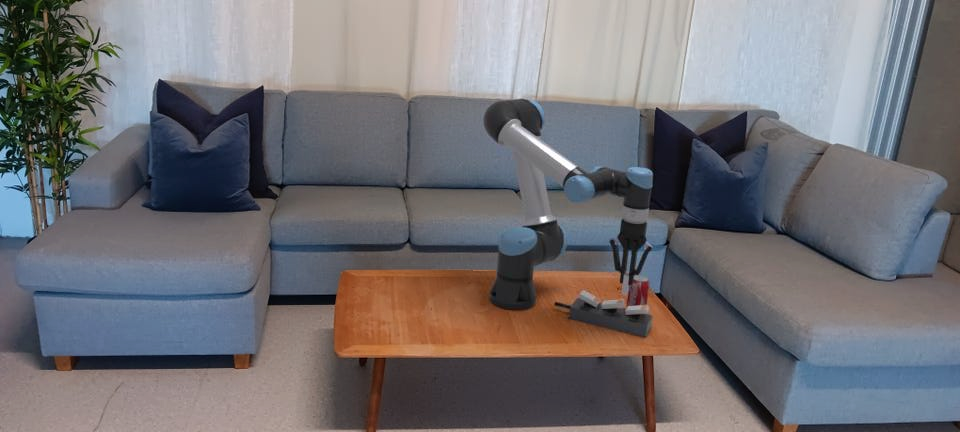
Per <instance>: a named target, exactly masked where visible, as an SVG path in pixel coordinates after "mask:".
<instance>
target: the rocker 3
mask: <svg viewBox="0 0 960 432" xmlns="http://www.w3.org/2000/svg"><path fill="white" fill-rule="evenodd" d="M625 309H626V310H625V312H626V315H630V314H648V312H649V311H650V305H649V304H647V305H639V306H628V307H627V308H626V307H625Z"/></svg>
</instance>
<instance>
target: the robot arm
mask: <svg viewBox="0 0 960 432" xmlns="http://www.w3.org/2000/svg"><path fill="white" fill-rule="evenodd" d="M545 122H546V117H545V112H544V110H543V108H542V106H541V105H540V104H539V103H538V102H537V101H535V100H534V99H530V98H517V99H509V100H508V99H507V100H498V101H495V102H493V103H492V104H490V105H489V106H488V107H487V108H486V109H485V112H484V114H483V127H484V130H485V133H486V134H487V135H488V137H490V138H491V139H492V140H493V141H494V142H496V143H497V144H499V145H500V146H501V147H508V148H509V149H510V150H512V156H513V159H514V165H515V171H516V175H517V176H516V177H517V181H518V186H519V192H520V196H521V203H522V207H523V208H522V209H523V212H524V218H525V220H524V221H523V223H522V224H521V226H518V227H517V226H514V227H509V228H507V229H505V230H504V231H503V232H501V234H500V237H499V242H498V251H497V252H498V253H497V265H496V266H497V267H496V276H495V279H494V281H493V284H492V285H491V288H490V290H489V295H488V296H489V299H488V300H489V301H490V302H491V304H492V305H494V306H497V307H498V308H502V309H505V310H513V311H521V310H522V311H524V310H528V309H531V308H533V307H535V305H536V303H537V292H536V288H535V283H534V271H535V270H534V269H535V267H536V266H539V265H541V264H544V263H547V262H552V261H554V260H556V259H557V258H559V257H561V256H562V255H563V254H564V252H565V251H566V249H567V247H568V235H567V231H566V230H565V228H563V227H562V226H561V225H560V224H559V223H558V220H557V217H556V216H555V215H553V214H552V211H551V207H550V200H549V196H548V190H547V185H546V179H545V176H547V177H549V178H550V179H551V180H552V181H554V182H555V183H557V184H558V185H560V186H561V187H562V188H563V189H564V190H563V191H564V194H565V195H566V198H567V199H568V200H569V201H571V202H573V203H582V202H583V203H585V202H588V201H590V200H593V199H597V198H600V197H603V196H604V197H605V196H607V195H608V196H609V195H611V196H614V197H618V198H623V203H622V204H623V205H622V211H621V218H622V219H621V220H620V228H619V233H618V234H617V236H616V237H611V239H610V240H609V243H610V246H611V249H612V257H613V263H614V264H613V265H614V270H615V271H616V272H619V274H620V277H619V284H621V285H622V286H621V289H622V290H621V295H622V296H625V297H626V296H627V297H628V292H629V285H632V284H633V280H634V276H635V275H640V274H641V272H642V271H643V267H644V266H645V265H644V264H645V263H646V259H647V258H648V256H649V253H650V252H651V251H652V250H653V248H654V245H653V244H650V243H649V242H648V241H647V238H646V236H647V235H646V234H647V227H648V222H647V221H648V219H649V212H650V200H651V195H652V188H653V179H654V178H653V177H654V173H653V171H652V170H651V169H649V168H647V167H640V166H632V167H629V168H628V169H627V171H622V170H618V169H614V168H610V167H608V166H598V165H597V166H594V167H593V168H592V169H591V170H590V171H589V173H588V172H587V171H585V170H584V169H582V168H581V167H580V166H578V165H577V164H576V163H574V162H573V161H571V160H570V159H568V158H567V157H565V156H564V155H563V154H561V153H560V152H558V151H557V150H556V149H554V148H553V147H552V146H551V145H549V144H547V143H546V142H544V141H543V140H542V133H541V131H542V129H543V127H544V124H545ZM544 174H545V175H544ZM619 244H620V245H621V247H622V259H621V258H620V251H619ZM643 246H644V247H643ZM642 247H643V250H644V251H643V253H642V255H641V258H640V260H639V262H638V265H637V257H638V252H639V250H640V249H641V248H642ZM630 251H631V253H630ZM629 253H630V254H631V256H630V262H629V271H628V272H627V270H628V269H627V267H628V261H629V255H630V254H629ZM636 266H637V268H636Z"/></svg>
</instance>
